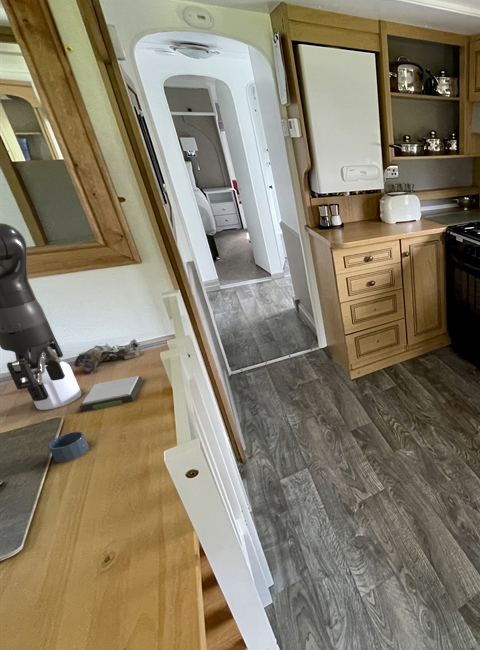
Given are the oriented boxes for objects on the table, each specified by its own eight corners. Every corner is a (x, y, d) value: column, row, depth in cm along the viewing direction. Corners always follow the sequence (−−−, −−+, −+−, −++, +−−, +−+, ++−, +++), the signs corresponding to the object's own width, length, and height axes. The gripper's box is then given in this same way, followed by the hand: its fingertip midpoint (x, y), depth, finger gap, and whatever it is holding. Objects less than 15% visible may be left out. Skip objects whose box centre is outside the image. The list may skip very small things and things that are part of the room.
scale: (82, 414, 102) (78, 405, 101) (96, 391, 111) (93, 383, 110) (133, 403, 107) (130, 394, 106) (143, 382, 116) (140, 374, 115)
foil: (145, 353, 126) (85, 342, 116) (130, 381, 127) (69, 373, 116) (144, 338, 135) (88, 327, 124) (130, 365, 135) (73, 356, 124)
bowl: (51, 467, 85) (43, 452, 84) (62, 450, 90) (54, 435, 88) (84, 459, 88) (77, 444, 86) (93, 443, 92) (87, 428, 91)
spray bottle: (62, 411, 103) (26, 331, 94) (27, 411, 102) (-14, 331, 93) (90, 391, 111) (59, 316, 102) (57, 392, 111) (23, 316, 102)
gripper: (12, 313, 81) (42, 377, 87) (-28, 341, 70) (9, 412, 76) (59, 307, 85) (84, 369, 91) (28, 333, 73) (60, 402, 79)
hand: (50, 388), depth 83 cm, fingers open, 8 cm apart
